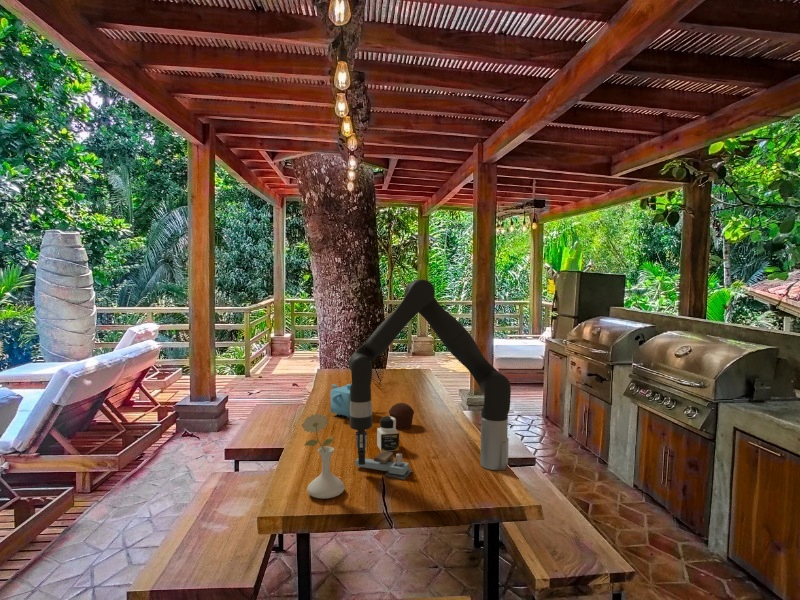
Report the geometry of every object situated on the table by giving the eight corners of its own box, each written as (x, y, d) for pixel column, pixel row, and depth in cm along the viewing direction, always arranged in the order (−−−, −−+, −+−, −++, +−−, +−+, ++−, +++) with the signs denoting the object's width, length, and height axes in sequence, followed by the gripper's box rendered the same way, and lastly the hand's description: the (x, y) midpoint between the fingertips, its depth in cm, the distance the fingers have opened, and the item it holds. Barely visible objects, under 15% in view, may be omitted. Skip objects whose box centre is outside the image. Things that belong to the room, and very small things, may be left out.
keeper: (393, 467, 162) (393, 452, 162) (384, 475, 155) (384, 460, 155) (382, 465, 164) (382, 450, 163) (374, 473, 157) (374, 458, 157)
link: (408, 469, 158) (408, 462, 158) (403, 475, 153) (403, 468, 153) (360, 461, 164) (360, 455, 164) (353, 467, 159) (353, 460, 159)
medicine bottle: (381, 452, 175) (381, 421, 175) (376, 445, 182) (377, 415, 182) (399, 450, 177) (399, 419, 177) (394, 444, 184) (394, 414, 184)
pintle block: (412, 471, 158) (412, 452, 158) (404, 480, 152) (404, 459, 151) (393, 468, 161) (393, 449, 161) (385, 476, 155) (385, 456, 154)
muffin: (384, 424, 208) (384, 402, 208) (406, 420, 214) (406, 399, 213) (396, 432, 198) (396, 409, 197) (418, 428, 203) (419, 406, 202)
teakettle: (330, 421, 212) (330, 389, 211) (330, 409, 231) (330, 380, 230) (371, 419, 215) (371, 388, 214) (368, 408, 233) (368, 379, 233)
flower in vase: (346, 484, 148) (346, 407, 147) (343, 502, 137) (342, 419, 135) (305, 485, 148) (304, 408, 146) (298, 502, 136) (298, 419, 135)
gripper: (372, 418, 149) (373, 471, 150) (371, 407, 162) (372, 455, 163) (348, 419, 148) (349, 472, 149) (350, 407, 162) (351, 456, 163)
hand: (361, 463), depth 156 cm, fingers closed
